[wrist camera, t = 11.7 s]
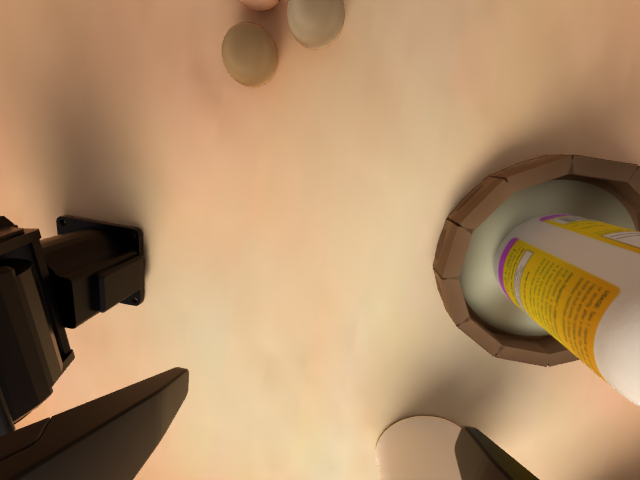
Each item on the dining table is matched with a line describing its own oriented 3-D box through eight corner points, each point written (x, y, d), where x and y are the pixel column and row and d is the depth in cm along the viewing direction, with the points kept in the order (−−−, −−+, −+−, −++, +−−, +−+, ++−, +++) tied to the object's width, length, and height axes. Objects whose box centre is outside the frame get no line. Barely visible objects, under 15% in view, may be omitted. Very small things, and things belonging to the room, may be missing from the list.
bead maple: (289, 52, 18) (278, 32, 15) (295, -8, 17) (285, -43, 14) (339, 60, 18) (338, 41, 15) (349, -1, 17) (349, -34, 14)
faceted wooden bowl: (413, 327, 23) (420, 344, 21) (467, 140, 19) (482, 138, 17) (596, 360, 22) (622, 382, 20) (690, 175, 18) (735, 178, 16)
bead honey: (232, 88, 19) (210, 75, 16) (235, 32, 18) (213, 7, 15) (280, 95, 19) (267, 84, 16) (285, 39, 18) (273, 15, 15)
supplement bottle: (519, 320, 21) (759, 548, 9) (471, 249, 20) (669, 397, 8) (614, 269, 20) (1066, 461, 7) (568, 189, 18) (1009, 256, 6)
